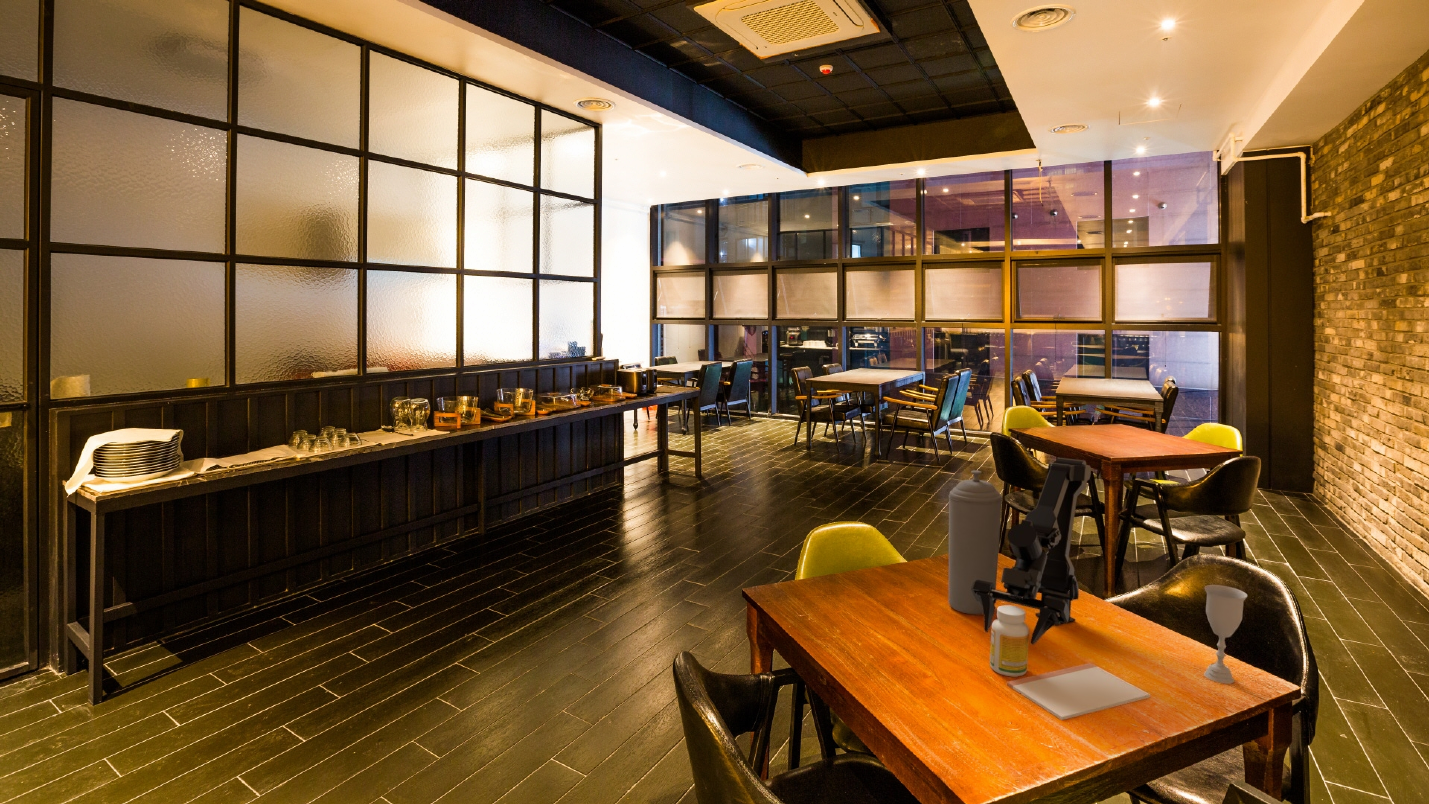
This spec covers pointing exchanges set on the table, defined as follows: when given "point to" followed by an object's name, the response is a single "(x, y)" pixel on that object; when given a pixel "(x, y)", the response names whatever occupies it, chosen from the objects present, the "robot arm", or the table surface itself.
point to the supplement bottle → (1009, 642)
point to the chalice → (1223, 624)
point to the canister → (972, 540)
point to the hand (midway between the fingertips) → (1008, 637)
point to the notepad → (1077, 690)
